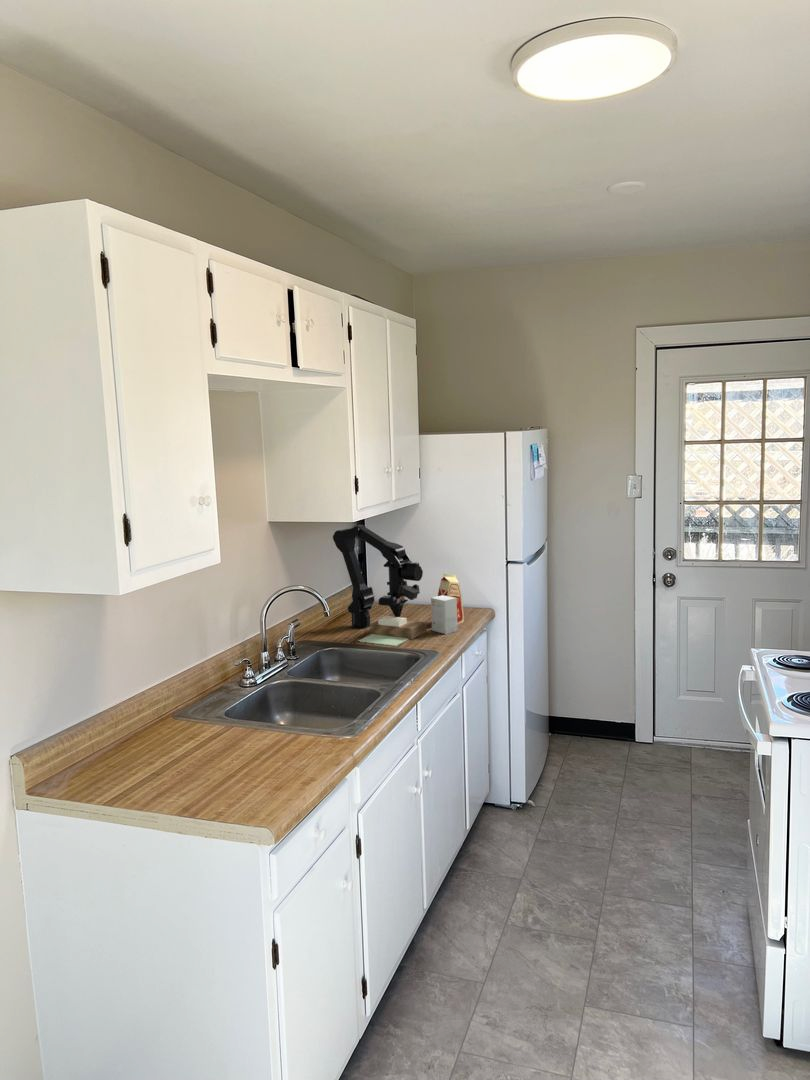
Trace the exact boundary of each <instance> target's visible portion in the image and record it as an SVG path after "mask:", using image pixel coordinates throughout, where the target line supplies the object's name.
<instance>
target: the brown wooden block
mask: <svg viewBox="0 0 810 1080" xmlns="http://www.w3.org/2000/svg"><path fill="white" fill-rule="evenodd" d="M369 631H370V634H369V635H371V634H375V635H383V636H392V637H401V638H409V640H413V639H415V638H417V637H419V636H421V635H423V634H425V622H423V621H417V620H415V621H413V620H407V623H406V624H404V625H402V626H400V627H396V626H387V625H378V620H376V621H374V622H370V626H369Z"/></svg>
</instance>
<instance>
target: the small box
mask: <svg viewBox="0 0 810 1080" xmlns="http://www.w3.org/2000/svg"><path fill="white" fill-rule="evenodd" d="M430 608H431V611H430V613H431V614H430V615H431V616H430V617H431V618H430V619H431V631H433V632H436V633H440V634H443V635H448V634H452V633H456V632H458V624H457V598H453V597H449V596H444V595H442V596H438V595H437V596H431V597H430Z"/></svg>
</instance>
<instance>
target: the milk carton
mask: <svg viewBox="0 0 810 1080" xmlns="http://www.w3.org/2000/svg"><path fill="white" fill-rule="evenodd" d="M442 595H444V596H449V597H453V598H457V625H459V624H463V623H465V617H464V616H465V615H464V605H463V598H462V597H463V596H462V591H461V585H460V582H459V580H458V579H457V574H447V573H443V577H442V578H441V580H440V582H439V588H438V591H437V596H442Z"/></svg>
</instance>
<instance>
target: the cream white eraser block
mask: <svg viewBox="0 0 810 1080" xmlns="http://www.w3.org/2000/svg"><path fill="white" fill-rule="evenodd" d="M377 621H378V625H387V626H396V627H400V626H402V625H404V624H406V623H407V621H408V618H407V617H401V616H400V617H395V616H394V615H393V616H392V615H391V616H390V615H385V616H383V617H381V618H378V619H377Z"/></svg>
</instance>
